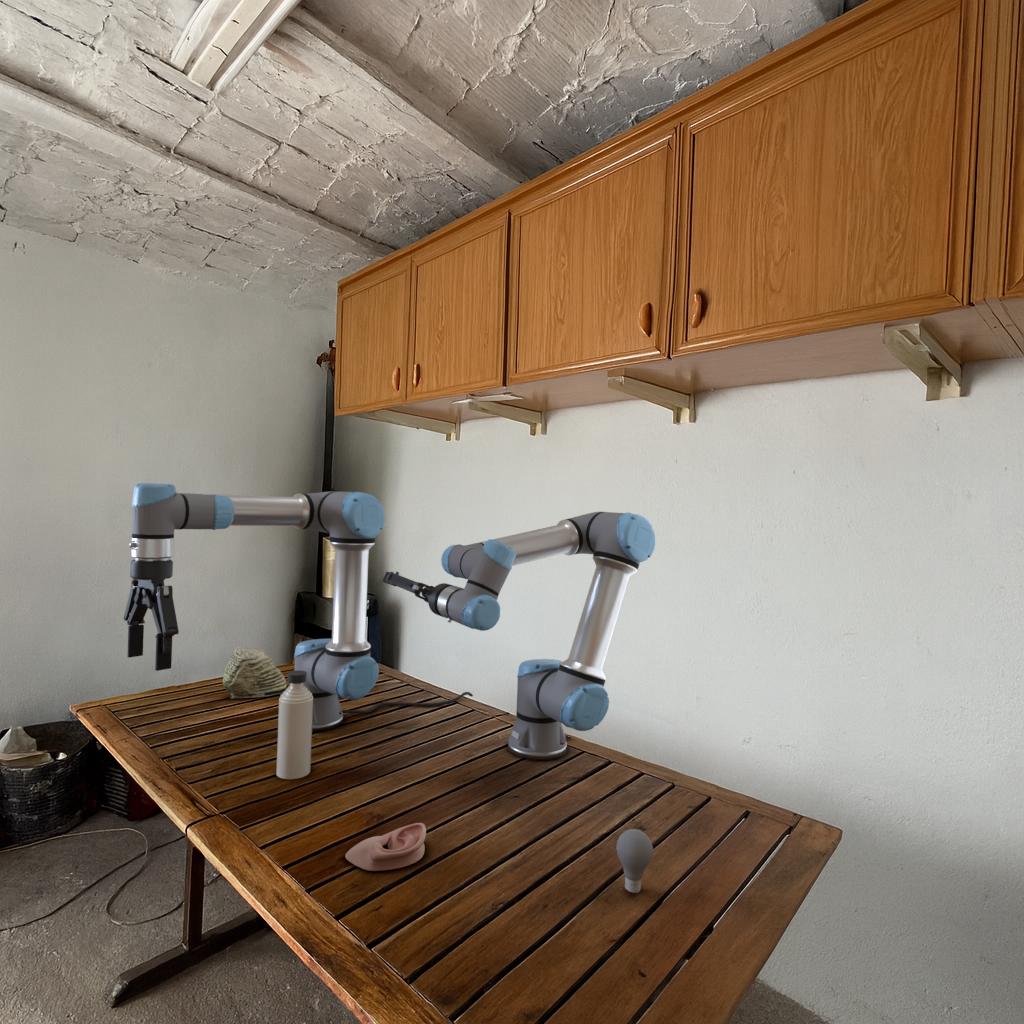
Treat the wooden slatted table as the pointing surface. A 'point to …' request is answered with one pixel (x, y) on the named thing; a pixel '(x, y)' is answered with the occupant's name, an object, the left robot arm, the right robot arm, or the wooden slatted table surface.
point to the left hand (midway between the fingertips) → (148, 662)
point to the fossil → (252, 674)
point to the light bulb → (634, 857)
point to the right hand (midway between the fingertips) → (407, 587)
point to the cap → (297, 677)
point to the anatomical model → (390, 849)
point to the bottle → (294, 732)
